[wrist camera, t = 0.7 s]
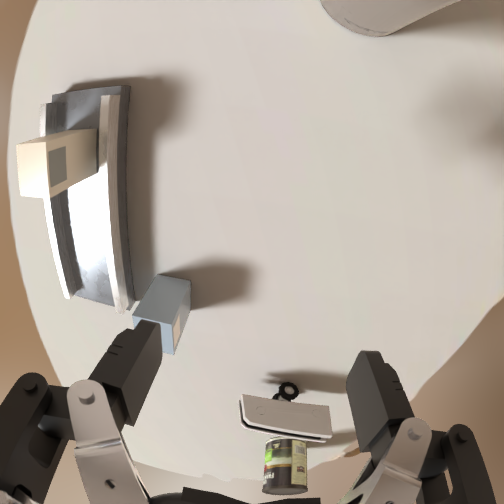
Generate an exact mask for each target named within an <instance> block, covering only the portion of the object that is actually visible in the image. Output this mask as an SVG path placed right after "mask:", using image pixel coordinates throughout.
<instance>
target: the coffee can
mask: <svg viewBox="0 0 504 504" xmlns="http://www.w3.org/2000/svg"><path fill="white" fill-rule="evenodd" d="M307 491H308V488H307V441H306V440H299V439H293V438H287V437H276V438H272V439H269V440H268V441H267V442H266V452H265V468H264V481H263V489H262V492H264V493H266V494H272V495H294V494H301V493H304V492H307Z"/></svg>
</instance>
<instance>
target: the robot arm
mask: <svg viewBox="0 0 504 504" xmlns="http://www.w3.org/2000/svg"><path fill="white" fill-rule="evenodd" d="M320 1H321V3H322V5H323V7H324V8H325V10H326V11H327V13H328V14H329V15H330V16H331V17H332V18H333V19H334V20H335V21H337V22H338V23H339V24H341V25H342V26H344V27H346V28H347V29H349V30H351V31H354V32H356V33H359V34H362V35H366V36H375V37H379V36H386V35H389V34H392V33H394V32H396V31H397V30H399V29H401V28H403V27H405V26H407V25H409V24H411V23H413V22H415V21H417V20H419V19H421V18H423V17H425V16H427V15H429V14H431V13H433V12H435V11H438V10H440V9H442V8H444V7H447V6H449V5H451V4H454V3H456V2H458V1H461V0H320ZM161 360H162V338H161V325H160V323H157V322H153V321H148V320H144V319H141V320H140V321H139V323H138V324H137V326H136V327H135V329H134V330H132V329H128V328H127V329H126V330H124V331H123V332H121V333H120V334H118V335H117V336H116V338H115V339H114V341H113V342H112V345H110V347H109V348H108V350H107V352H106V353H105V354H104V355H103V357H102V358H101V360H100V361H99V363H98V364H97V366H96V367H95V369H94V371H93V372H92V374H91V375H90V377H89V378H88V379H87V380H80V381H77V382H75V383H74V384H72V385H71V386H70V387H60V386H53V385H48V383H47V381H46V379H45V378H44V377H43V376H42V375H40V374H38V373H27V374H24V375H23V376H21V377H20V378H19V379H18V380H17V382H16V383H15V384H14V386H13V387H12V389H11V390H10V392H9V393H8V395H7V396H6V398H5V399H4V401H3V402H2V404H1V405H0V504H43V503H44V500H45V497H46V495H47V492H48V489H49V486H50V484H51V481H52V479H53V476H54V473H55V471H56V469H57V466H58V464H59V461H60V459H61V456H62V454H63V452H64V449H65V447H66V445H67V443H68V441H69V440H75V441H76V445H77V447H76V448H75V449H74V453H75V458H76V462H77V465H78V469H79V472H80V475H81V478H82V482H83V485H84V488H85V490H86V493H87V496H88V499H89V501H90V504H249V503H245V502H242V501H239V500H236V499H233V498H230V497H227V496H224V495H222V494H218V493H213V492H208V491H201V490H197V489H191V488H187V487H183V492H182V493H167V494H162V495H158V496H154V497H151V496H150V494H149V493H148V491H147V489H146V487H145V485H144V483H143V481H142V479H141V477H140V475H139V473H138V471H137V469H136V467H135V465H134V462H133V460H132V458H131V455H130V453H129V450H128V448H127V446H126V443H125V440H124V438H123V435H122V433H121V431H122V429H123V427H124V424H127V425H130V426H133V427H134V425H135V422H136V420H137V418H138V415H139V413H140V410H141V408H142V406H143V403H144V401H145V399H146V396H147V394H148V392H149V389H150V387H151V385H152V383H153V380H154V378H155V376H156V373H157V371H158V369H159V367H160V364H161ZM346 390H347V394H348V399H349V403H350V407H351V411H352V416H353V420H354V425H355V429H356V434H357V439H358V444H359V448H360V453H361V452H371V457H370V458H369V460H368V461H367V463H366V465H365V466H364V468H363V470H362V471H361V473H360V474H359V476H358V478H357V479H356V481H355V482H354V484H353V485H352V487H351V488H350V490H349V491H348V492H347V494H346V495H345V496H344V497H343V498H342V499H341V500H340V501H339V502H338V503H337V504H414V502H415V500H416V503H417V504H496V500H495V497H494V493H493V489H492V486H491V482H490V479H489V476H488V473H487V470H486V467H485V464H484V461H483V458H482V456H481V453H480V450H479V447H478V445H477V442H476V440H475V437H474V435H473V432H472V431H471V430H470V428H468V427H467V426H465V425H462V424H456V425H454V426H453V427H451V428H450V430H448V431H447V432H442V431H434V430H431V429H430V427H429V425H428V424H427V423H426V422H425V421H423V420H422V419H419V418H415V416H414V414H413V411H412V409H411V406H410V404H409V401H408V399H407V396H406V394H405V392H404V390H403V387H402V384H401V383H400V380H399V378H398V375H397V373H396V371H395V370H394V369H393V368H392V367H391V366H390V365H389V364H388V363H384V360H383V358H382V356H381V354H380V352H379V351H361V352H360V353H359V354H358V356H357V358H356V361H355V363H354V365H353V367H352V369H351V371H350V373H349V375H348V377H347V381H346ZM447 469H448V470H449V474H450V478H451V481H452V485H453V491H452V494H451V495H450V494H449V489H448V486H447V481H446V477H445V473H444V471H445V470H447ZM260 504H321V503H320V498H296V499H283V500H278V501H273V502H267V503H260Z"/></svg>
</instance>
